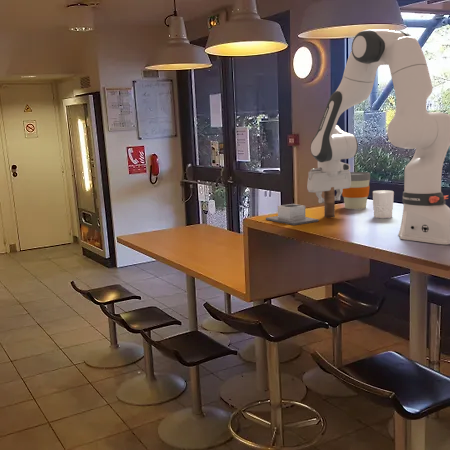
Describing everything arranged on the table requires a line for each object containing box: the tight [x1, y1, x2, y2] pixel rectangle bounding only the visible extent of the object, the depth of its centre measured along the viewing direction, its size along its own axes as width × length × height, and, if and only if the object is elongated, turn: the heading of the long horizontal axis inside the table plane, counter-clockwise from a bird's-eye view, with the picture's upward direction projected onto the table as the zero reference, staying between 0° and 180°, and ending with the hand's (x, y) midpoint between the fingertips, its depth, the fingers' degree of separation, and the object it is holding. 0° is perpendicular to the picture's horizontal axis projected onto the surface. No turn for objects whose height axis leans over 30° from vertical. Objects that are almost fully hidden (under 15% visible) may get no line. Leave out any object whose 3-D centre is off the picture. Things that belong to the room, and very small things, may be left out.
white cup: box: [372, 189, 395, 219], centre depth 216 cm, size 8×8×10 cm
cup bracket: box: [265, 203, 319, 226], centre depth 217 cm, size 18×12×6 cm, turn 32°
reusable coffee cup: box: [341, 171, 371, 210], centre depth 241 cm, size 13×13×15 cm
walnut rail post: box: [323, 187, 336, 219], centre depth 221 cm, size 4×4×12 cm
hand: (329, 201), depth 221 cm, fingers open, 7 cm apart
